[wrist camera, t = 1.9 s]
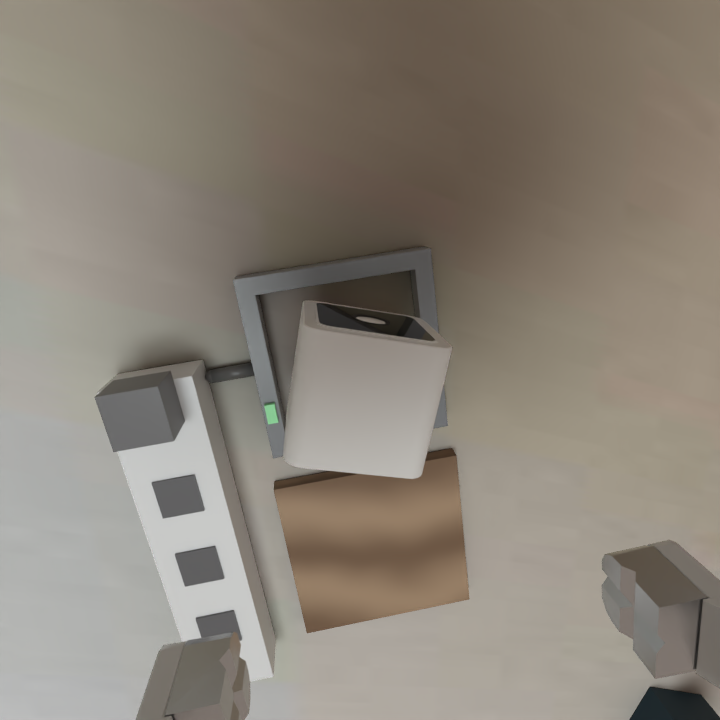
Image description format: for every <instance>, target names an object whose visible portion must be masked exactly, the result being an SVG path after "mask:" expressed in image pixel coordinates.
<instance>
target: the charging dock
mask: <svg viewBox="0 0 720 720" xmlns="http://www.w3.org/2000/svg"><path fill="white" fill-rule="evenodd" d="M408 270H410V275H411V284H412V293H413V302H414V311H415V317H417V318H420V319H422V320H424V321H425V322H426V323H427V324H429V325H430V326H431V327H432V328H433V329H434V330H435V331H436V332H437V333H438V334H439V329H438V318H437V308H436V297H435V287H434V276H433V266H432V255H431V248H428V247H418V248H412V249H405V250H399V251H393V252H387V253H380V254H374V255H368V256H362V257H355V258H349V259H343V260H336V261H330V262H324V263H318V264H311V265H305V266H299V267H293V268H286V269H280V270H274V271H267V272H261V273H255V274H249V275H242V276H236V277H235V278H234V279H233V283H234V287H235V292H236V296H237V301H238V305H239V309H240V314H241V318H242V323H243V327H244V331H245V336H246V340H247V345H248V349H249V353H250V358H251V362H252V367H253V371H254V375H255V380H256V384H257V389H258V393H259V397H260V402H261V406H262V411H263V415H264V419H265V424H266V428H267V433H268V437H269V441H270V446H271V450H272V455H273V458H277V457H282V456H283V451H284V438H285V425H286V422H285V417H284V413H283V408H282V403H281V399H280V394H279V389H278V384H277V380H276V375H275V370H274V366H273V361H272V356H271V352H270V347H269V342H268V337H267V333H266V328H265V323H264V319H263V314H262V309H261V304H260V300H259V295H260V294H266V293H272V292H278V291H284V290H291V289H297V288H303V287H309V286H315V285H321V284H328V283H334V282H340V281H346V280H352V279H358V278H365V277H371V276H377V275H383V274H389V273H395V272H401V271H408ZM444 426H448V423H447V413H446V402H445V392H444V385H443V389H442V393H441V398H440V402H439V406H438V410H437V414H436V418H435V422H434V427H433V429H434V428H439V427H444Z"/></svg>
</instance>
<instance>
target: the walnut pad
mask: <svg viewBox="0 0 720 720" xmlns="http://www.w3.org/2000/svg"><path fill="white" fill-rule="evenodd" d="M274 493H275V498H276V502H277V506H278V510H279V515H280V519H281V523H282V528H283V532H284V536H285V541H286V545H287V549H288V553H289V558H290V562H291V566H292V571H293V575H294V579H295V584H296V588H297V592H298V596H299V601H300V605H301V609H302V614H303V618H304V622H305V627H306V631H307V633H310V632H315V631H320V630H325V629H330V628H334V627H339V626H344V625H349V624H353V623H358V622H363V621H368V620H373V619H377V618H382V617H387V616H392V615H396V614H401V613H406V612H411V611H416V610H420V609H425V608H430V607H435V606H439V605H444V604H449V603H454V602H459V601H463V600H468V599H469V590H468V579H467V568H466V557H465V546H464V535H463V524H462V513H461V502H460V491H459V480H458V469H457V458H456V454H455V453H454V451H453V450H452V448H451V449H445V450H440V451H435V452H429V453H427V456H426V460H425V464H424V468H423V472H422V475H421V476H420V477H418V478H415V479H406V478H396V477H386V476H376V475H366V474H356V473H346V472H336V471H328V472H323V473H318V474H312V475H307V476H302V477H296V478H291V479H286V480H280V481H275V483H274Z"/></svg>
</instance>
